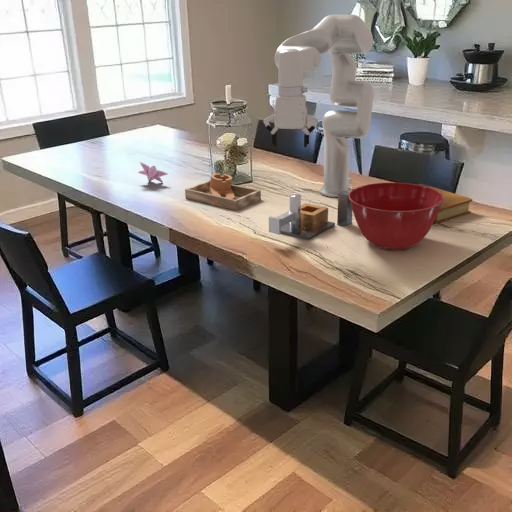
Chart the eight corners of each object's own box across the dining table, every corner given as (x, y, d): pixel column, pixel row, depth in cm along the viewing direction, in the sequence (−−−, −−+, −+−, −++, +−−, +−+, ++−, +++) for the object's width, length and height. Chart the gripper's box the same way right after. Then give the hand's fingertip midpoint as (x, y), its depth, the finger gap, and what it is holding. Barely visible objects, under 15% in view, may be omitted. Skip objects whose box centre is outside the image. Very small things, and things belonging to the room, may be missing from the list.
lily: (170, 189, 256) (172, 166, 257) (146, 183, 248) (148, 160, 249) (153, 192, 265) (155, 170, 265) (130, 187, 256) (131, 164, 257)
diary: (384, 208, 228) (385, 193, 225) (420, 198, 237) (421, 183, 235) (434, 225, 210) (436, 209, 208) (470, 214, 220) (472, 198, 218)
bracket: (208, 189, 247) (209, 172, 244) (229, 190, 249) (230, 174, 246) (213, 205, 231) (214, 187, 228) (235, 206, 233) (237, 189, 230)
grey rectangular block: (342, 221, 214) (343, 190, 210) (351, 223, 212) (353, 192, 208) (337, 224, 212) (338, 193, 207) (346, 226, 210) (347, 195, 205)
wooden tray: (211, 188, 252) (210, 179, 251) (260, 199, 238) (260, 190, 237) (185, 198, 241) (184, 189, 240) (236, 210, 227) (235, 201, 226)
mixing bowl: (328, 242, 197) (329, 196, 191) (381, 219, 216) (384, 176, 209) (405, 268, 179) (409, 217, 173) (456, 240, 197) (461, 193, 191)
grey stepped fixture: (300, 217, 219) (300, 181, 214) (334, 225, 211) (336, 188, 206) (256, 240, 201) (255, 201, 195) (292, 250, 193) (292, 210, 187)
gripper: (319, 89, 195) (318, 143, 202) (264, 89, 198) (265, 142, 205) (317, 93, 188) (316, 149, 195) (260, 93, 191) (261, 148, 198)
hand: (290, 146), depth 200 cm, fingers open, 9 cm apart
